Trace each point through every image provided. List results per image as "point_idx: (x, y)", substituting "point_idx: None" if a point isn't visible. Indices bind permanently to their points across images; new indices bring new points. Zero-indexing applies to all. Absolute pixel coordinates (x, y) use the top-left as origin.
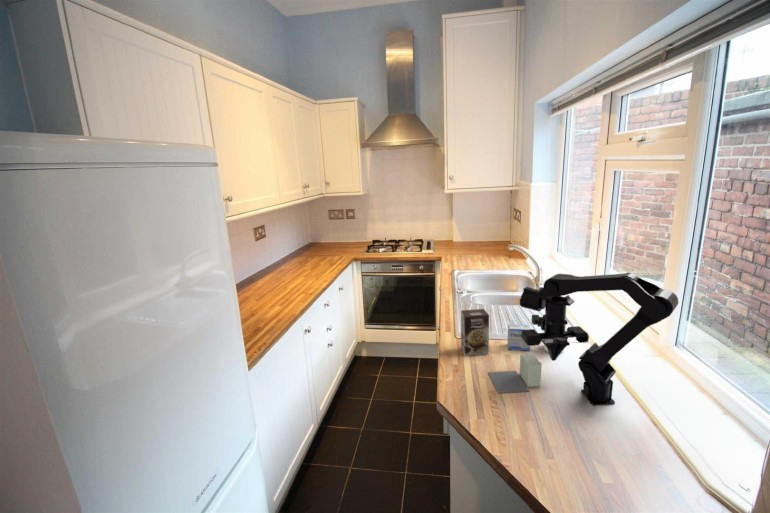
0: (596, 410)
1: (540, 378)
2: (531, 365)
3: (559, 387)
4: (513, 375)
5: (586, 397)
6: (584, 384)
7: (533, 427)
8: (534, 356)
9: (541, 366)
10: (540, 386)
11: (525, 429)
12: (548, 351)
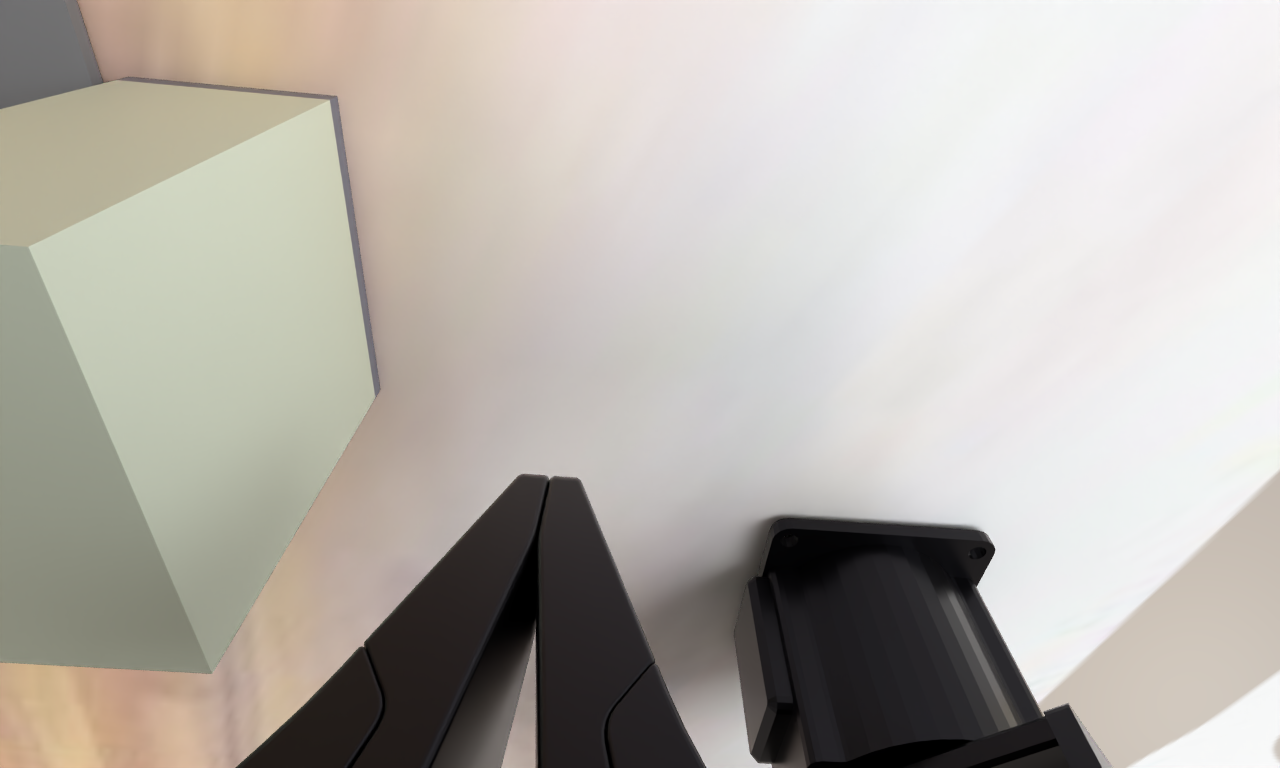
0: (724, 685)
1: (326, 468)
2: (8, 655)
3: (597, 428)
4: (6, 103)
5: (735, 629)
6: (762, 699)
7: (196, 735)
8: (82, 425)
9: (231, 640)
10: (375, 395)
11: (137, 740)
12: (407, 599)
